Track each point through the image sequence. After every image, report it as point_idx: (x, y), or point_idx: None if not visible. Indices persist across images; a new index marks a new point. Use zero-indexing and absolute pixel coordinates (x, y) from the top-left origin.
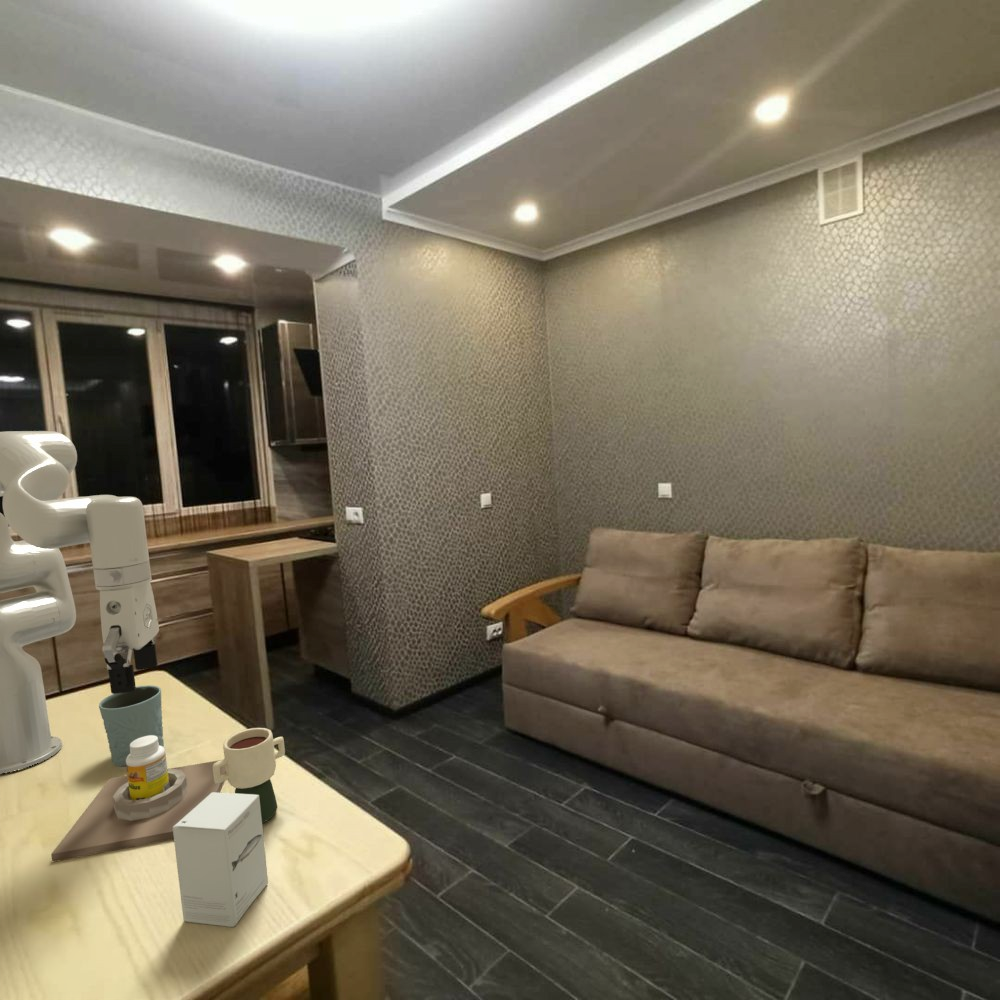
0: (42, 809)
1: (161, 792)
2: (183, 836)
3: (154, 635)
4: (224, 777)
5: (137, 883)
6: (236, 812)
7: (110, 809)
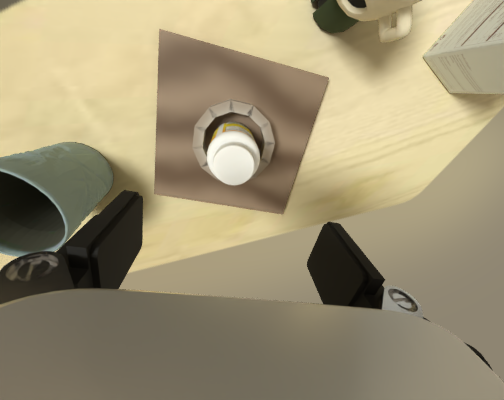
0: (182, 238)
1: (249, 130)
2: None
3: (171, 300)
4: (391, 22)
5: (363, 138)
6: None
7: None
